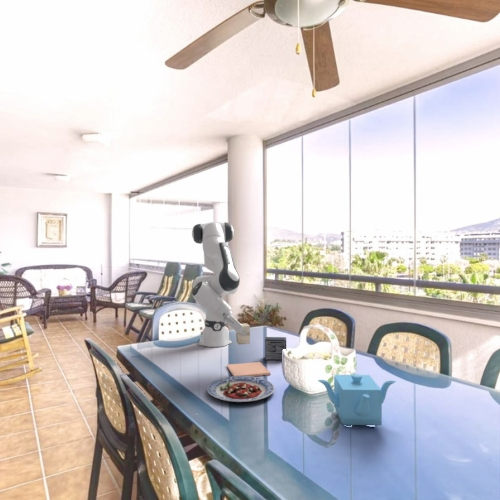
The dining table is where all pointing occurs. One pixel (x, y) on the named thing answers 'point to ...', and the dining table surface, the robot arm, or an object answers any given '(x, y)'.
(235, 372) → the terracotta tile
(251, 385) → the ceramic plate
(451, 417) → the dining table surface
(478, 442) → the dining table surface
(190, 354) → the dining table surface
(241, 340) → the ash block
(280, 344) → the small box
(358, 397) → the teakettle
